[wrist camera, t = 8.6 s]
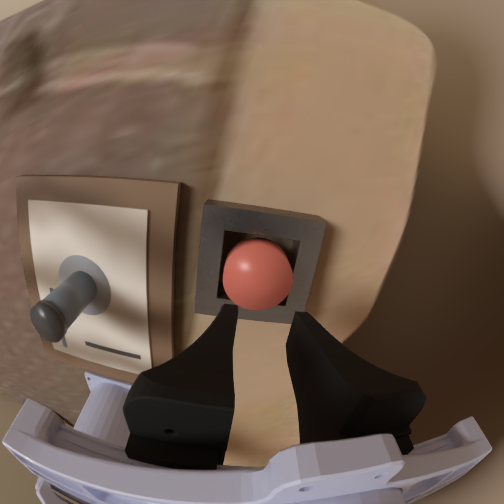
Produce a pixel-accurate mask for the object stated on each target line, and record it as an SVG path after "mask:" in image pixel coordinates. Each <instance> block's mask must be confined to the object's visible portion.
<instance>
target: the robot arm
mask: <svg viewBox="0 0 504 504" xmlns="http://www.w3.org/2000/svg"><path fill="white" fill-rule="evenodd" d="M237 318H238V305H233V304H223V305H222V307H221V309H220V311H219V313H218V315H217V316H216V318H215V319H214V321H213V322H212V323H211V325H210V326H209V327H208V328H207V330H206V331H205V332H204V333H203V334H202V335H201V336H200V337H199V338H198V339H197V340H196V341H195V342H194V343H193V344H192V345H190V346H189V347H188V348H187V349H185V350H184V351H183V352H181V353H180V354H178V355H177V356H175V357H174V358H172V359H170V360H168V361H167V362H165V363H163V364H161V365H159V366H156V367H153V368H151V369H148V370H146V371H143V372H141V373H140V374H139V375H138V377H137V378H136V380H135V381H134V383H133V384H131V383H127V382H123V381H120V380H116V379H112V378H109V377H105V376H102V375H99V374H96V373H92V372H89V371H86V372H85V373H84V374H85V377H86V380H87V383H88V386H89V389H90V391H91V393H90V395H89V397H88V399H87V401H86V403H85V405H84V407H83V409H82V411H81V413H80V415H79V417H78V419H77V422H76V424H75V426H74V428H73V429H72V428H70V427H68V426H66V425H63V424H61V423H60V420H59V418H58V416H57V415H56V414H55V413H54V412H53V411H52V410H50V409H49V408H47V407H45V406H43V405H41V404H39V403H37V402H35V401H33V400H31V399H27V400H26V402H25V403H24V405H23V406H22V408H21V410H20V411H19V413H18V414H17V416H16V418H15V419H14V421H13V423H12V425H11V426H10V428H9V430H8V432H7V433H6V435H5V437H4V439H3V441H2V442H3V444H4V445H5V446H6V448H7V449H8V450H9V451H10V452H11V453H12V454H13V455H14V456H15V457H16V458H17V459H18V460H19V461H20V462H21V463H22V464H23V465H24V466H25V467H27V469H29V470H30V471H31V472H32V473H33V474H35V475H37V476H38V480H37V482H36V485H35V488H36V494H37V496H38V497H39V499H40V501H41V502H42V503H43V504H73V503H71V502H69V501H67V500H65V499H63V498H61V497H60V496H58V495H57V494H56V493H54V492H53V491H52V489H54V490H56V491H58V492H59V493H61V494H63V495H64V496H66V497H68V498H70V499H72V500H74V501H76V502H78V503H80V504H410V503H412V502H414V501H416V500H418V499H420V498H423V497H425V496H426V495H428V494H431V493H433V492H434V491H436V490H438V489H440V488H442V487H444V486H446V485H447V484H449V483H451V482H453V481H455V480H456V479H458V478H460V477H461V476H463V475H464V474H465V473H466V472H468V471H469V470H470V469H471V468H472V467H473V466H475V465H476V464H477V463H478V462H479V461H481V460H482V459H483V458H484V457H485V456H486V455H487V454H488V453H489V452H490V451H491V450H492V447H491V446H490V444H489V442H488V440H487V439H486V437H485V436H484V434H483V432H482V431H481V429H480V427H479V426H478V424H477V423H476V421H475V420H474V418H473V417H469V418H467V419H465V420H462V421H460V422H458V423H457V424H455V425H454V426H453V427H452V428H451V429H450V431H449V432H448V433H447V434H445V435H442V436H440V437H437V438H434V439H432V440H429V441H426V442H423V443H420V444H417V445H413V444H412V442H411V440H410V438H409V436H408V435H409V434H410V433H411V429H410V427H409V425H410V423H411V422H412V421H413V420H414V419H415V417H416V416H417V415H418V414H419V412H420V411H421V410H422V408H423V406H424V404H425V401H426V396H425V394H424V392H423V391H422V389H421V387H420V386H419V384H418V383H417V382H416V381H413V380H409V379H406V378H403V377H400V376H397V375H394V374H392V373H389V372H387V371H385V370H383V369H380V368H378V367H376V366H375V365H373V364H371V363H369V362H367V361H365V360H364V359H362V358H361V357H359V356H358V355H356V354H355V353H353V352H352V351H350V350H349V349H347V348H346V347H345V346H344V345H343V344H341V343H340V342H339V341H338V340H337V339H335V338H334V337H333V336H332V335H331V334H330V333H329V332H328V331H327V330H326V329H325V328H324V327H323V326H322V325H321V324H320V323H318V322H317V321H316V320H315V319H314V318H313V317H312V316H311V315H310V314H309V313H308V312H299V311H295V314H294V317H293V321H292V325H291V328H290V332H289V335H288V339H287V342H286V354H287V363H288V368H289V372H290V376H291V381H292V385H293V389H294V393H295V397H296V403H297V410H298V420H299V433H300V444H298V445H294V446H291V447H289V448H286V449H283V450H281V451H280V452H278V453H277V454H276V455H275V456H274V457H272V458H271V459H270V461H269V463H268V464H267V466H265V467H244V466H227V465H223V462H224V457H225V452H226V450H227V445H228V440H229V435H230V430H231V425H232V420H233V415H234V408H235V393H234V381H233V345H234V338H235V331H236V325H237Z"/></svg>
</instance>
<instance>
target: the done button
mask: <svg viewBox="0 0 504 504" xmlns="http://www.w3.org/2000/svg"><path fill="white" fill-rule="evenodd" d="M292 283H293V273H292V269H291V266H290V264H289V261H288V259H287V257H286V254H285V252H284V251H283V249H282V248H281V247H280V246H279V245H278V244H276V243H275V242H273V241H271V240H269V239H266V238H260V237H254V238H248V239H245V240H243V241H241V242H239V243H237V244H236V245H235V246H234V247H233V248H232V249H231V250H230V252H229V253H228V255H227V258H226V261H225V266H224V273H223V286H224V289H225V292H226V294H227V295H228V297H229V298H230V299H231V300H232V301H233V302H234V303H235V304H237V305H238V306H240V307H242V308H245V309H249V310H265V309H269V308H272V307H274V306H276V305H278V304H279V303H280V302H282V301H283V300H284V299H285V298H286V296H287V295H288V293H289V292H290V290H291V287H292Z"/></svg>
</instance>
